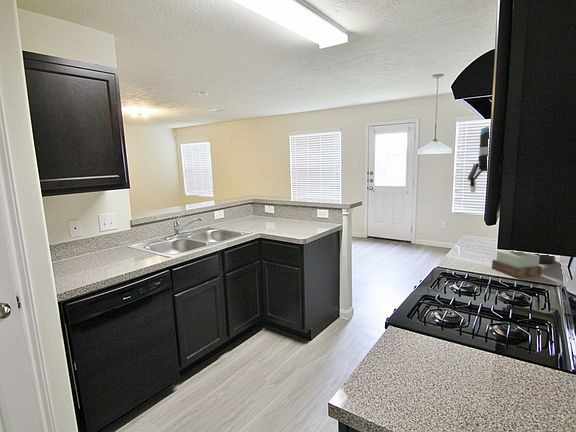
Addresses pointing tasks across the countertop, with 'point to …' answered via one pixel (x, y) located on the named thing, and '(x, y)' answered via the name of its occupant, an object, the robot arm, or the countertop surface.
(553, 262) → the robot arm
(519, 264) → the tower top
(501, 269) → the tower base
